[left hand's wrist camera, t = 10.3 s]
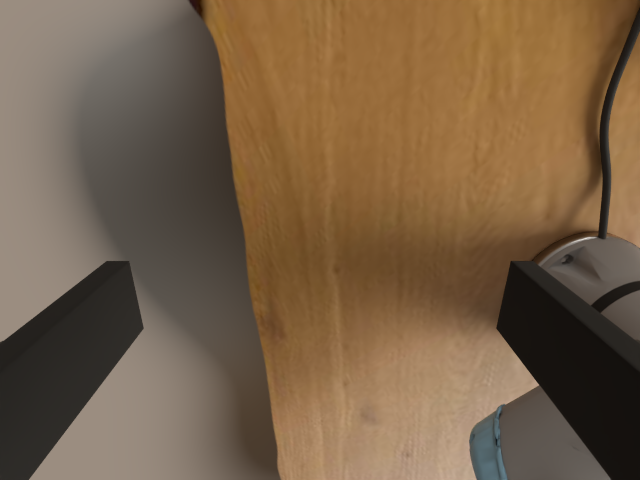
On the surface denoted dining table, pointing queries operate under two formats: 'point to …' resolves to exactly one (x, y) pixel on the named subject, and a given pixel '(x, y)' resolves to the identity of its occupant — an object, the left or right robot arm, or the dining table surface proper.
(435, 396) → the dining table surface
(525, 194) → the dining table surface
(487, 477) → the left robot arm
